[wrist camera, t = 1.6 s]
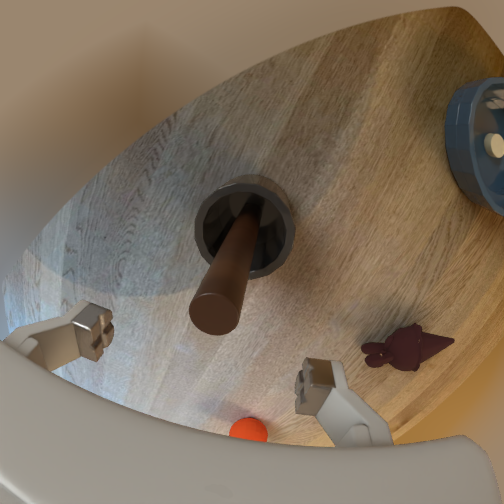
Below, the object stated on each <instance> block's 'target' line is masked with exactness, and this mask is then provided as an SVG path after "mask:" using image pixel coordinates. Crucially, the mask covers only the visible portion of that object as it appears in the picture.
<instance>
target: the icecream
mask: <svg viewBox="0 0 504 504" xmlns="http://www.w3.org/2000/svg"><path fill="white" fill-rule="evenodd" d="M454 341H455V340H454V339H453V338H448V337H443V336H438V335H434V334H429V333H425V332H422V327H421V326H420V325H417V324H416V323H414V324H412V325H411V326H408V327H405V328H399V329H398V330H397V331H395V332H394V333H393V334H392V335H390V336H388V338H387V339H386V341H385V343H375V342H372V343H366V344H363V345H362V346H361V350H362V352H363V353H365V354H370V355H368V356H367V357H366V358H365V362H366V364H367V365H368V366H369V367H372V368H376V367H381V366H383V364H387V363H389V364H390V365H392V366H393V367H394V368H396V369H398V370H401V371H411V370H412V371H414V372H415V371H417V370H418V369H419V367H420V363H422V362H424V361H425V360H427V359H429V358H430V357H432V356H434V355H435V354H437V353H439V352H440V351H442V350H443V349H445V348H446V347H448V346H449V345H451V344H452V343H454Z"/></svg>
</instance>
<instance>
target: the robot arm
mask: <svg viewBox="0 0 504 504" xmlns="http://www.w3.org/2000/svg"><path fill="white" fill-rule="evenodd" d="M112 319H113V315H112V311H111V310H109V309H106V308H104V307H101V306H98V305H96V304H93V303H90V302H88V301H85V300H80V301H79V302H78V303H77V304H76V305H75V306H74V307H72V308H71V309H70V310H69V311H68V312H67V313H66V314H65V315H64V316H63V317H62V318H61V317H56V318H52V319H48V320H45V321H41V322H37V323H33V324H29V325H26V326H22V327H18V328H16V329H15V330H14V331H13V332H12V333H11V334H10V335H9V336H8V337H6V339H4V340H3V341H1V340H0V504H502V500H501V496H500V492H499V487H498V483H497V480H496V476H495V473H494V470H493V467H492V464H491V461H490V459H489V457H488V455H487V453H486V451H485V450H483V449H482V448H481V447H480V446H479V445H477V444H476V443H475V442H474V441H473V440H471V439H470V438H468V437H467V436H464V435H456V436H452V437H446V438H441V439H436V440H430V441H423V442H416V443H409V444H399V445H394V444H393V440H392V436H391V433H390V429H389V426H388V423H387V422H386V421H385V420H384V419H383V418H382V417H381V416H379V415H378V414H377V413H376V412H375V411H374V410H373V409H372V408H371V407H370V406H369V405H368V404H367V403H366V402H365V401H364V400H363V399H361V398H360V397H359V396H358V395H357V394H356V393H355V392H354V391H353V390H352V389H349V388H348V383H347V379H346V375H345V371H344V367H343V364H342V362H341V361H333V360H322V359H315V358H307V357H306V358H305V359H304V361H303V364H302V368H303V370H301V371H299V373H298V375H297V378H296V382H295V394H296V395H297V398H296V400H295V411H296V414H302V415H310V416H316V419H317V420H318V421H319V423H320V424H321V426H322V427H323V429H324V430H325V432H326V433H327V434H328V436H329V437H330V439H331V440H332V441H333V443H334V444H335V447H314V446H299V445H287V444H277V443H269V442H261V441H254V440H248V439H242V438H236V437H231V436H226V435H221V434H216V433H211V432H207V431H203V430H199V429H195V428H191V427H187V426H183V425H180V424H176V423H173V422H169V421H166V420H163V419H159V418H156V417H153V416H150V415H147V414H144V413H141V412H139V411H136V410H133V409H130V408H128V407H125V406H122V405H120V404H117V403H115V402H112V401H110V400H108V399H105V398H103V397H101V396H98V395H96V394H94V393H92V392H89V391H87V390H85V389H83V388H81V387H79V386H77V385H75V384H73V383H71V382H69V381H67V380H65V379H63V378H61V377H59V376H57V375H55V374H54V373H52V372H51V371H53V370H55V369H57V368H59V367H61V366H63V365H65V364H67V363H69V362H71V361H73V360H75V359H77V358H79V357H81V356H82V357H85V358H87V359H89V360H92V361H95V362H97V361H98V360H99V359H100V357H101V356H102V354H103V353H104V351H103V348H106V347H108V346H109V345H110V344H111V342H112V339H113V337H114V326H113V325H112V323H111V322H110V321H111V320H112Z"/></svg>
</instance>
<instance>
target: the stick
mask: <svg viewBox="0 0 504 504" xmlns="http://www.w3.org/2000/svg"><path fill="white" fill-rule="evenodd" d="M261 217H262V212H261V209H260V208H259V207H258V206H257V205H255V204H247V205H245V206H244V207H243V208H242V209H241V211H240V213H239V214H238V216H237V218H236V220H235V222H234V223H233V225H232V227H231V229H230V231H229V232H228V234H227V236H226V238H225V240H224V242H223V243H222V245H221V247H220V249H219V251H218V253H217V254H216V256H215V258H214V260H213V262H212V264H211V265H210V267H209V269H208V271H207V273H206V275H205V277H204V279H203V280H202V282H201V284H200V286H199V288H198V290H197V292H196V294H195V296H194V297H193V299H192V301H191V303H190V306H189V315H190V318H191V321H192V322H193V324H194V325H195V326H196V327H197V328H198V329H199V330H201V331H203V332H205V333H207V334H210V335H224V334H227V333H229V332H231V331H232V330H234V329H235V328H236V326H237V325H238V322H239V318H240V314H241V309H242V305H243V300H244V295H245V291H246V286H247V282H248V277H249V272H250V268H251V263H252V259H253V254H254V249H255V245H256V240H257V235H258V231H259V226H260V222H261Z"/></svg>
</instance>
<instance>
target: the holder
mask: <svg viewBox="0 0 504 504" xmlns="http://www.w3.org/2000/svg"><path fill="white" fill-rule="evenodd" d="M247 204H255V205H257V206H258V207H259V208H260V209H261V212H262V217H261V222H260V226H259V231H258V235H257V240H256V245H255V249H254V254H253V259H252V263H251V268H250V272H249V277H248V280H252V279H256V278H260V277H263V276H267V275H269V274H271V273H272V272H274V271H275V270H276V269H278V268H279V267H280V266H282V265H283V264H284V262H285V261H286V259H287V257H288V256H289V254H290V252H291V251H292V249H293V245H294V237H295V224H294V220H293V215H292V211H291V207H290V204H289V201H288V198H287V195H286V194H285V192H284V191H283V190H282V188H281V187H280V186H279V185H278V184H277V183H275V182H274V181H272V180H271V179H269V178H266V177H264V176H260V175H254V174H249V175H242V176H239V177H236V178H233V179H231V180H229V181H228V182H226V183H225V184H224V185H222V186H221V187H219V188H218V189H217V190H215V191H214V192H213V193H212V194H211V195H210V196H209V197H208V198H207V199H205V200H204V201H203V203H202V205H201V207H200V209H199V211H198V213H197V216H196V218H195V241H196V243H197V246H198V248H199V251H200V253H201V256H202V257H203V258H204V259H205V260H206V261H207V262H208V263H209V264H210V265H211V264H212V262H213V260H214V258H215V256H216V254H217V253H218V251H219V249H220V247H221V245H222V243H223V242H224V240H225V238H226V236H227V234H228V232H229V231H230V229H231V227H232V225H233V223H234V222H235V220H236V218H237V216H238V214H239V213H240V211H241V209H242V208H243V207H244V206H245V205H247Z"/></svg>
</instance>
